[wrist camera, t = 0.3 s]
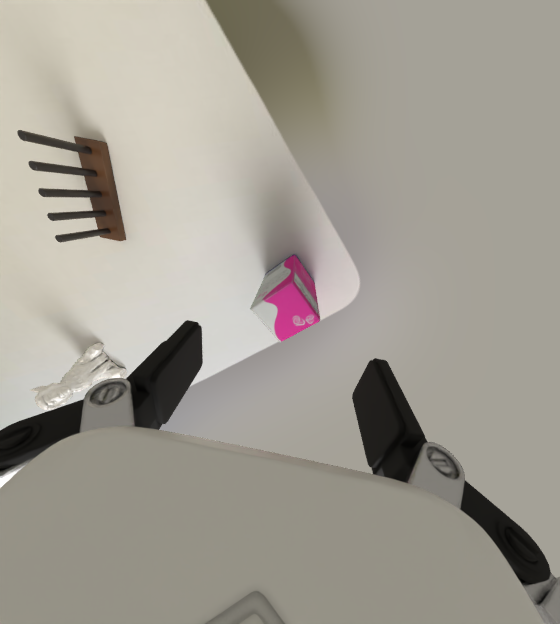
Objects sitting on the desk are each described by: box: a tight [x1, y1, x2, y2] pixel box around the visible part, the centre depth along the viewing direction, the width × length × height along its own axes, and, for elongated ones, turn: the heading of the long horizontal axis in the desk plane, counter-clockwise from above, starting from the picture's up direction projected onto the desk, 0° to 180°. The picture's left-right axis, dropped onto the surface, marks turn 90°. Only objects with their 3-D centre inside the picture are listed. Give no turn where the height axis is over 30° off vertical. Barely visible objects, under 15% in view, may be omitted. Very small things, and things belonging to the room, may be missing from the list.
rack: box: [18, 130, 126, 242], centre depth 25 cm, size 12×3×8 cm, turn 170°
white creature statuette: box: [30, 343, 127, 410], centre depth 41 cm, size 10×9×12 cm
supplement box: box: [250, 254, 320, 342], centre depth 27 cm, size 6×6×12 cm
